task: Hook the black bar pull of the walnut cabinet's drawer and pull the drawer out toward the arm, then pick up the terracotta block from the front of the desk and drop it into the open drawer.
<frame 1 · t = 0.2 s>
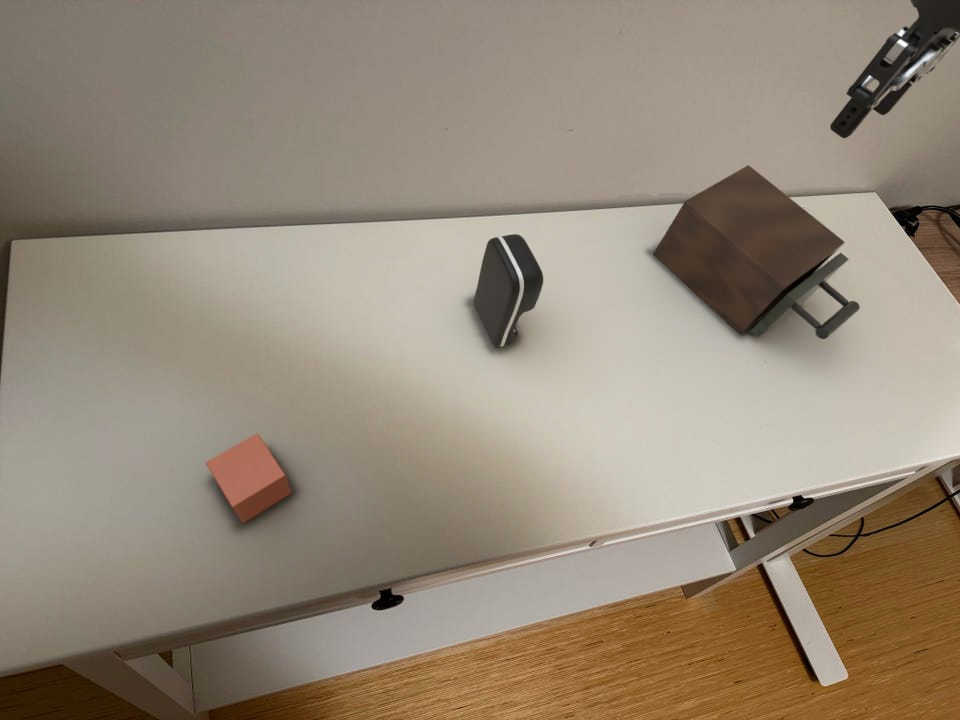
hand: (858, 121, 63), 19 cm above the table, tool pointing down, fingers open, 8 cm apart
block: (255, 487, 52), on the table
battery charger: (497, 322, 65), on the table
drawer: (774, 274, 70), point 5 cm above the table, slide at 0.5 cm
cabinet: (725, 272, 75), on the table
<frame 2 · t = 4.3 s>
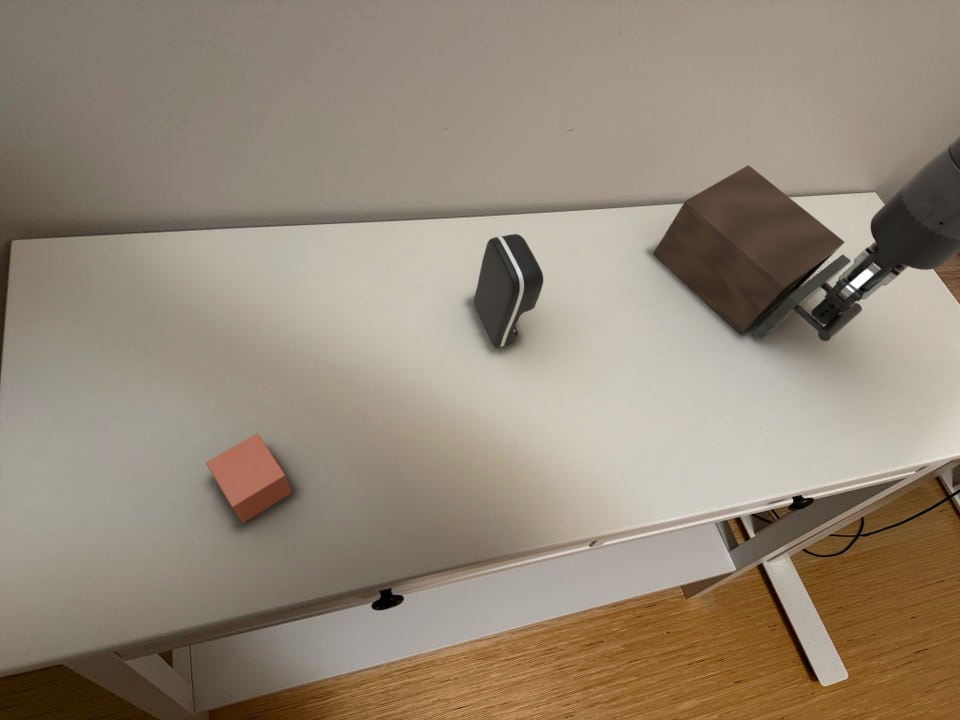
hand: (820, 316, 67), 4 cm above the table, tool pointing down, fingers closed
drawer: (776, 275, 69), point 5 cm above the table, slide at 0.8 cm, touching gripper
everything else where it was.
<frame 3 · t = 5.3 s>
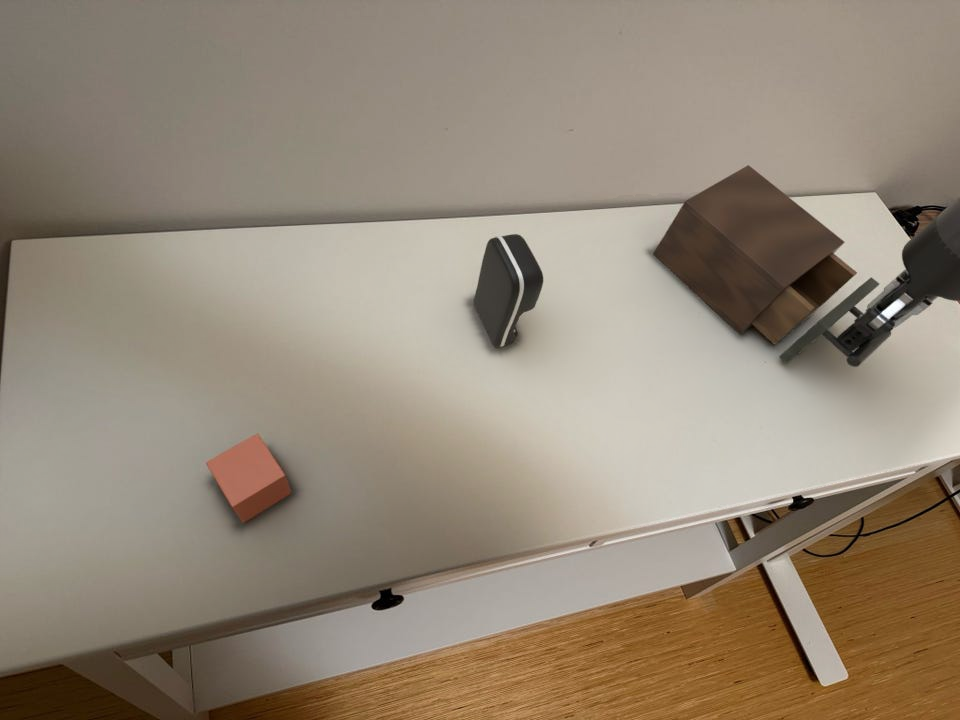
hand: (846, 342, 66), 4 cm above the table, tool pointing down, fingers closed
drawer: (802, 298, 68), point 5 cm above the table, slide at 4.8 cm, touching gripper
everything else where it was.
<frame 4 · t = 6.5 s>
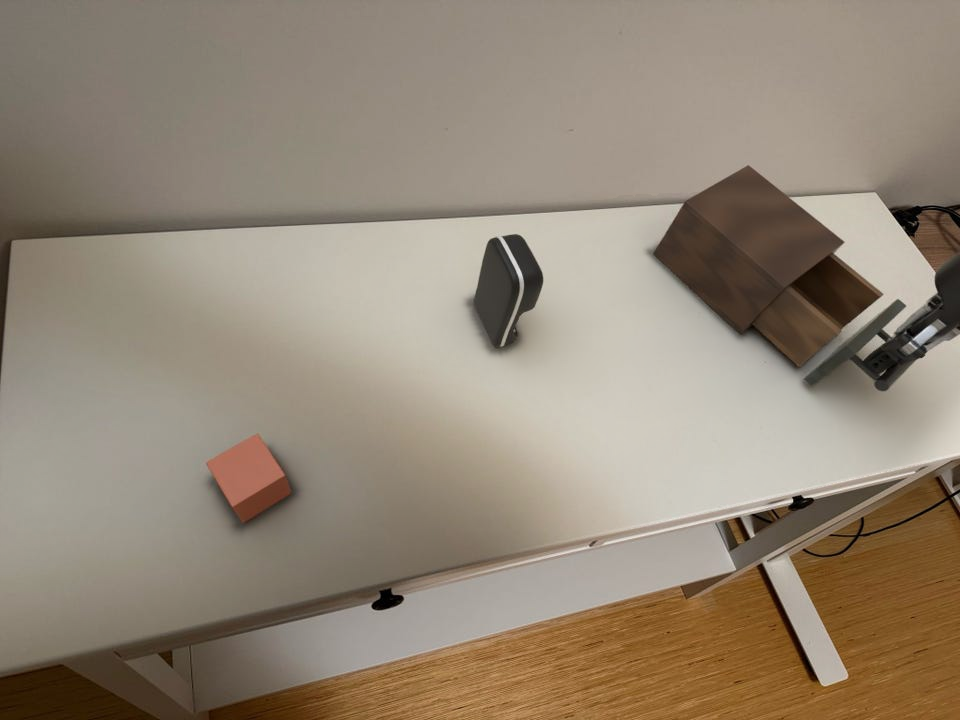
hand: (872, 365, 65), 4 cm above the table, tool pointing down, fingers closed
drawer: (827, 320, 67), point 5 cm above the table, slide at 8.3 cm, touching gripper
everything else where it was.
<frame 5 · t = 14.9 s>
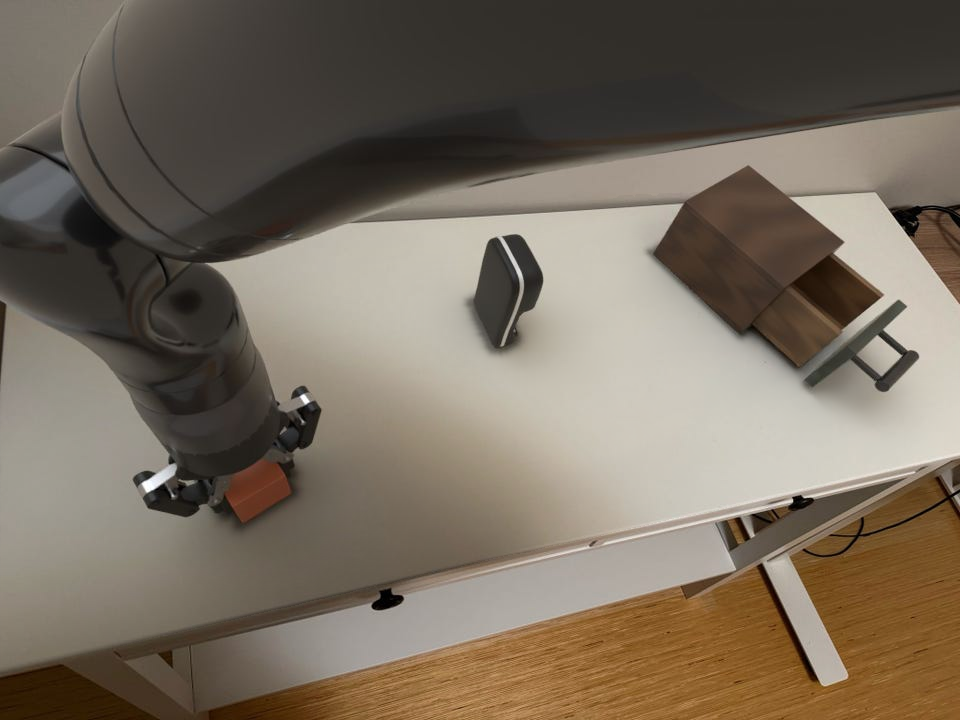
hand: (254, 485, 52), 0 cm above the table, tool pointing down, fingers closed on block, 4 cm apart
block: (255, 487, 52), on the table, touching gripper
drawer: (828, 320, 67), point 5 cm above the table, slide at 8.4 cm
everything else where it was.
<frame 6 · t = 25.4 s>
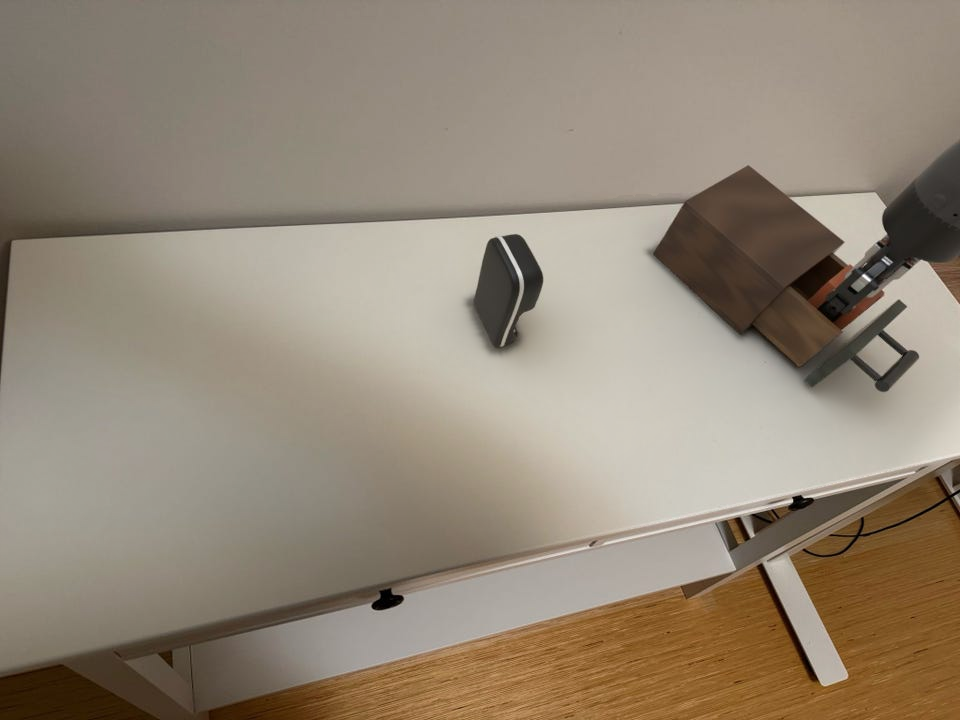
hand: (831, 310, 66), 6 cm above the table, tool pointing down, fingers closed on block, drawer, 4 cm apart
block: (828, 311, 66), point 5 cm above the table, touching gripper
drawer: (828, 320, 67), point 5 cm above the table, slide at 8.4 cm, touching gripper
everything else where it was.
when the fingers open (7 cm above the table, at t = 26.2 s): block stays where it is, resting on drawer.
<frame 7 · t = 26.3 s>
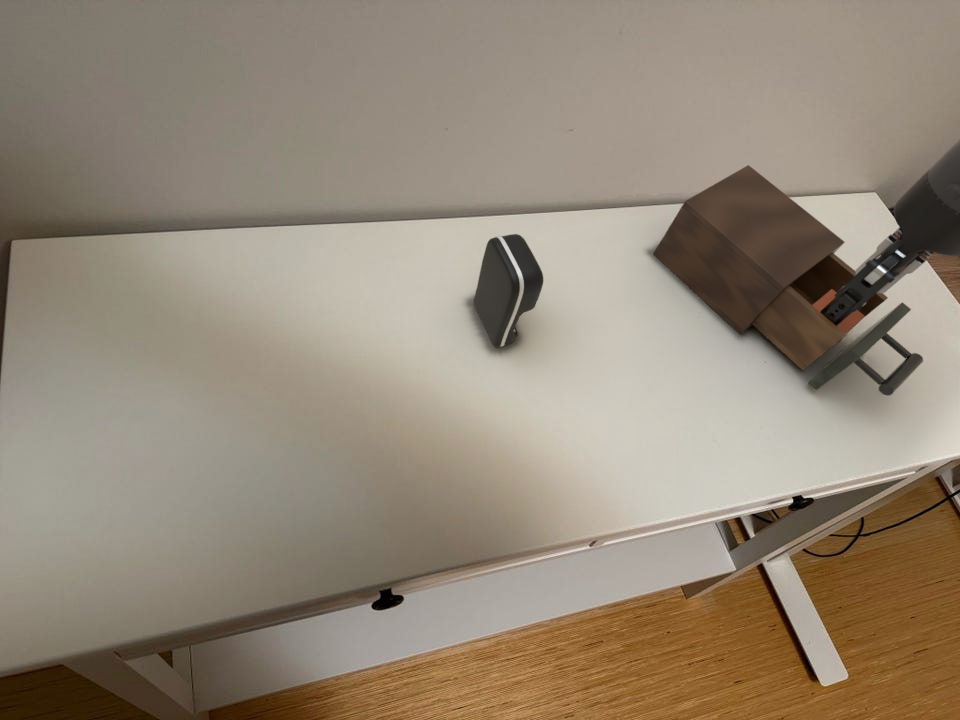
hand: (843, 306, 65), 7 cm above the table, tool pointing down, fingers open, 6 cm apart
block: (812, 333, 69), point 2 cm above the table, touching drawer
drawer: (831, 323, 67), point 5 cm above the table, slide at 8.9 cm, touching block, gripper
everything else where it was.
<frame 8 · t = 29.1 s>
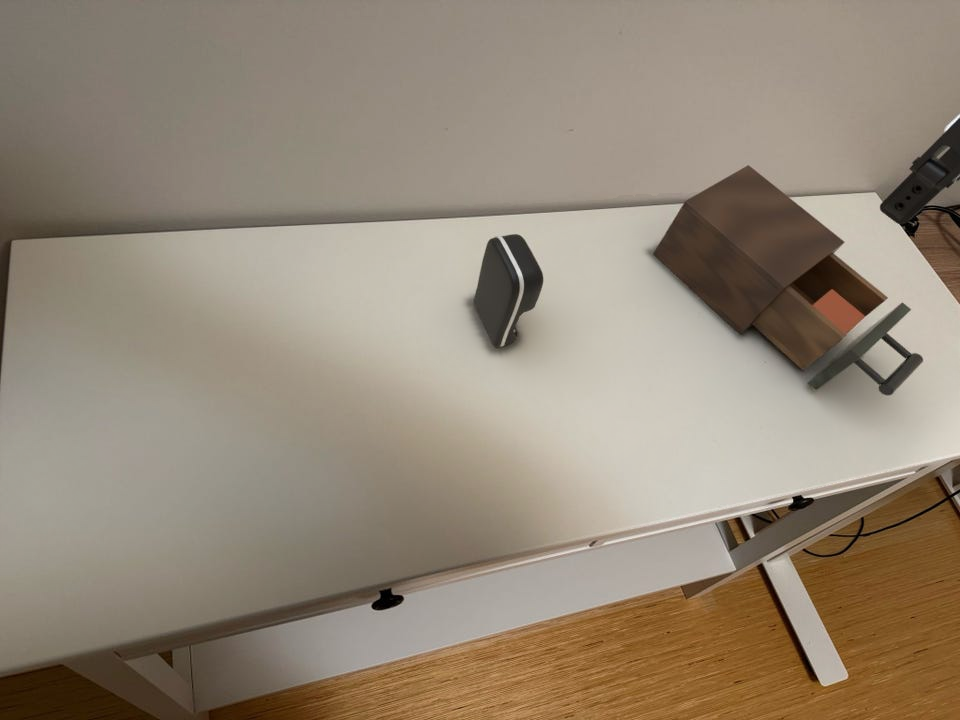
hand: (917, 195, 45), 26 cm above the table, tool pointing down, fingers open, 8 cm apart
drawer: (831, 323, 67), point 5 cm above the table, slide at 8.9 cm, touching block
everything else where it was.
at the end: drawer slide at 8.9 cm; block inside the target area in the drawer (1.9 cm from its centre), point 2.0 cm above the cabinet's base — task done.
